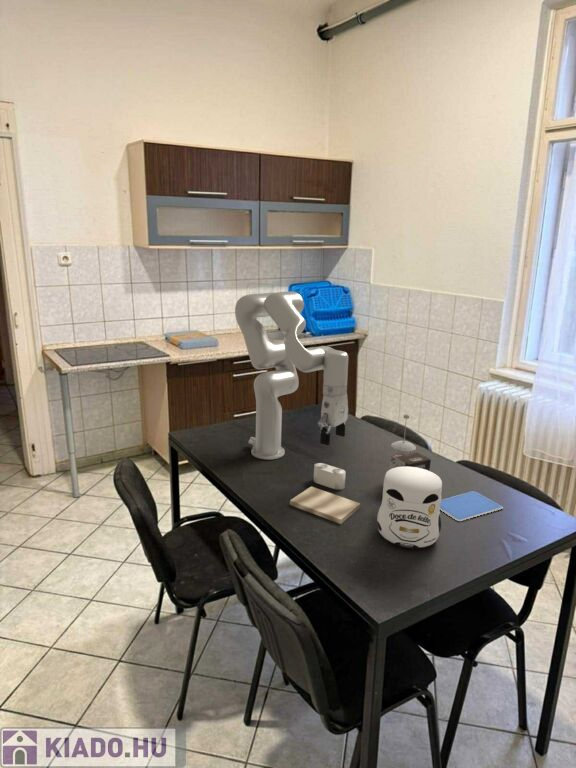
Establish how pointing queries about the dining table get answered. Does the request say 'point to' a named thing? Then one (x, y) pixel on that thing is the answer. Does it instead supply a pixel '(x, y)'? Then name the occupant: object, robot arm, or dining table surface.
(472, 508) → the blue flat pad
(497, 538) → the dining table surface
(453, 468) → the dining table surface
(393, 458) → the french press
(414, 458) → the coffee box
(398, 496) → the doce de leite jar
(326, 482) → the rounded block
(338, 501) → the birch board
